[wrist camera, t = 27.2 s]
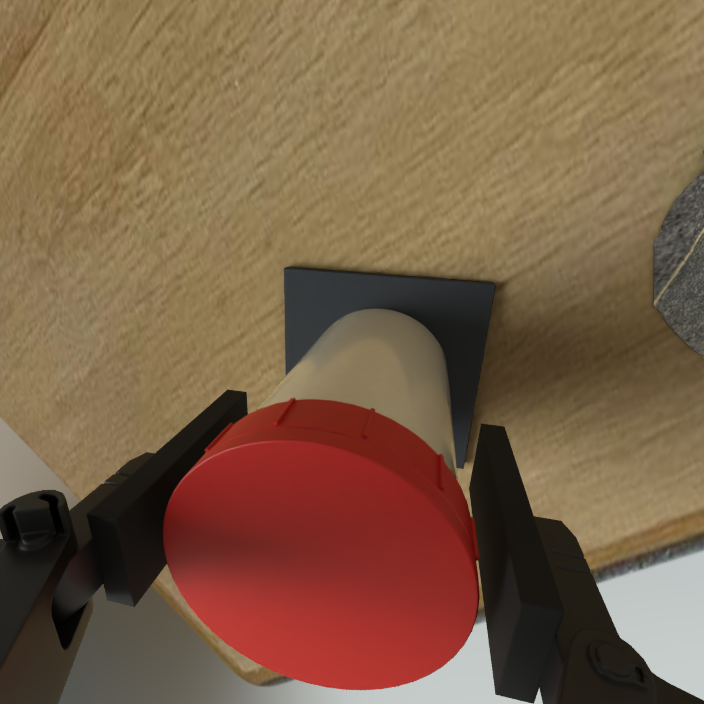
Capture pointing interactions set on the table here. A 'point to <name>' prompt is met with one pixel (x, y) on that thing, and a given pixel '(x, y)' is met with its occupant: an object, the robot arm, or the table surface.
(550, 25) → the table surface
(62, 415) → the table surface
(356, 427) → the lid
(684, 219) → the sculpture
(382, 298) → the mat
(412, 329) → the jar
